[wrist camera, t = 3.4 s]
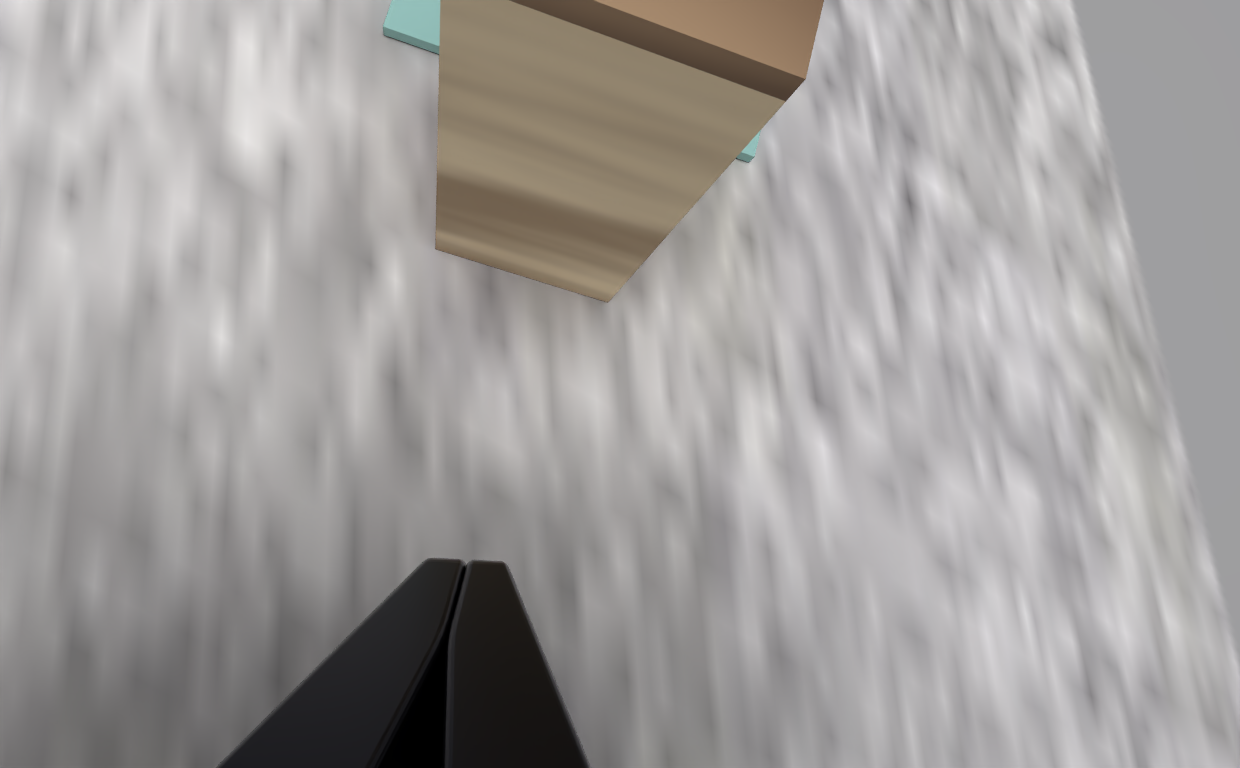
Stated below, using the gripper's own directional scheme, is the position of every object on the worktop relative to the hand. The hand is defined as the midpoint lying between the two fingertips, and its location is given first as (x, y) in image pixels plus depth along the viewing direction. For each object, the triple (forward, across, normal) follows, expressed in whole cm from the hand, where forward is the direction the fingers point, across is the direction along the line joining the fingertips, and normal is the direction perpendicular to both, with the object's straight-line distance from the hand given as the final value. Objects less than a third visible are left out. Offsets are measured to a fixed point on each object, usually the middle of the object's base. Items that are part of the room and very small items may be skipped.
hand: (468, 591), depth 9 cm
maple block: (+15, 0, 0) cm, 15 cm away
